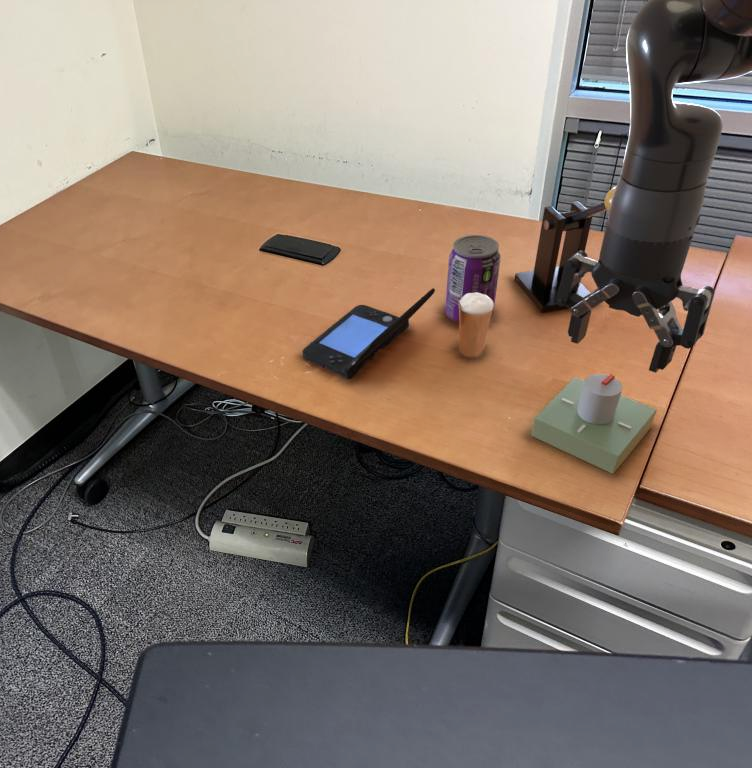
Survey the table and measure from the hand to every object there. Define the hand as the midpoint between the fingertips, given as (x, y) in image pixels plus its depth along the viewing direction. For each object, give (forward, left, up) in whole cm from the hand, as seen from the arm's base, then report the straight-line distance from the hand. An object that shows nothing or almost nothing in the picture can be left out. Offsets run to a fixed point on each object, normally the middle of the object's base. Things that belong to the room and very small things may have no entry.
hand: (615, 353), depth 76 cm
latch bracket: (+18, -25, -12) cm, 33 cm away
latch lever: (+13, -21, +3) cm, 25 cm away
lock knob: (0, 0, -9) cm, 9 cm away
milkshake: (+20, -5, -12) cm, 24 cm away
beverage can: (+25, -13, -12) cm, 31 cm away
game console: (+32, +3, -12) cm, 35 cm away
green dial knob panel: (0, 0, -12) cm, 12 cm away
